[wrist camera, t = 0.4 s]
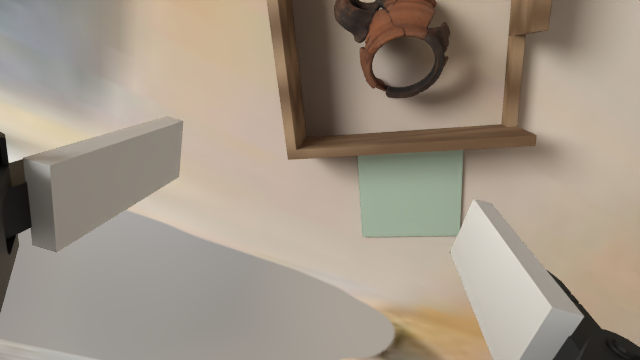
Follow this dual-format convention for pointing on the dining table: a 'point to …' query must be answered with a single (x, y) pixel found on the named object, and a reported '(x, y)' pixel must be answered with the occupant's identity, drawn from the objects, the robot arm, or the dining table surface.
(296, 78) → the crate
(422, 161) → the mat
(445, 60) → the brown hollow vessel
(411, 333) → the dining table surface
